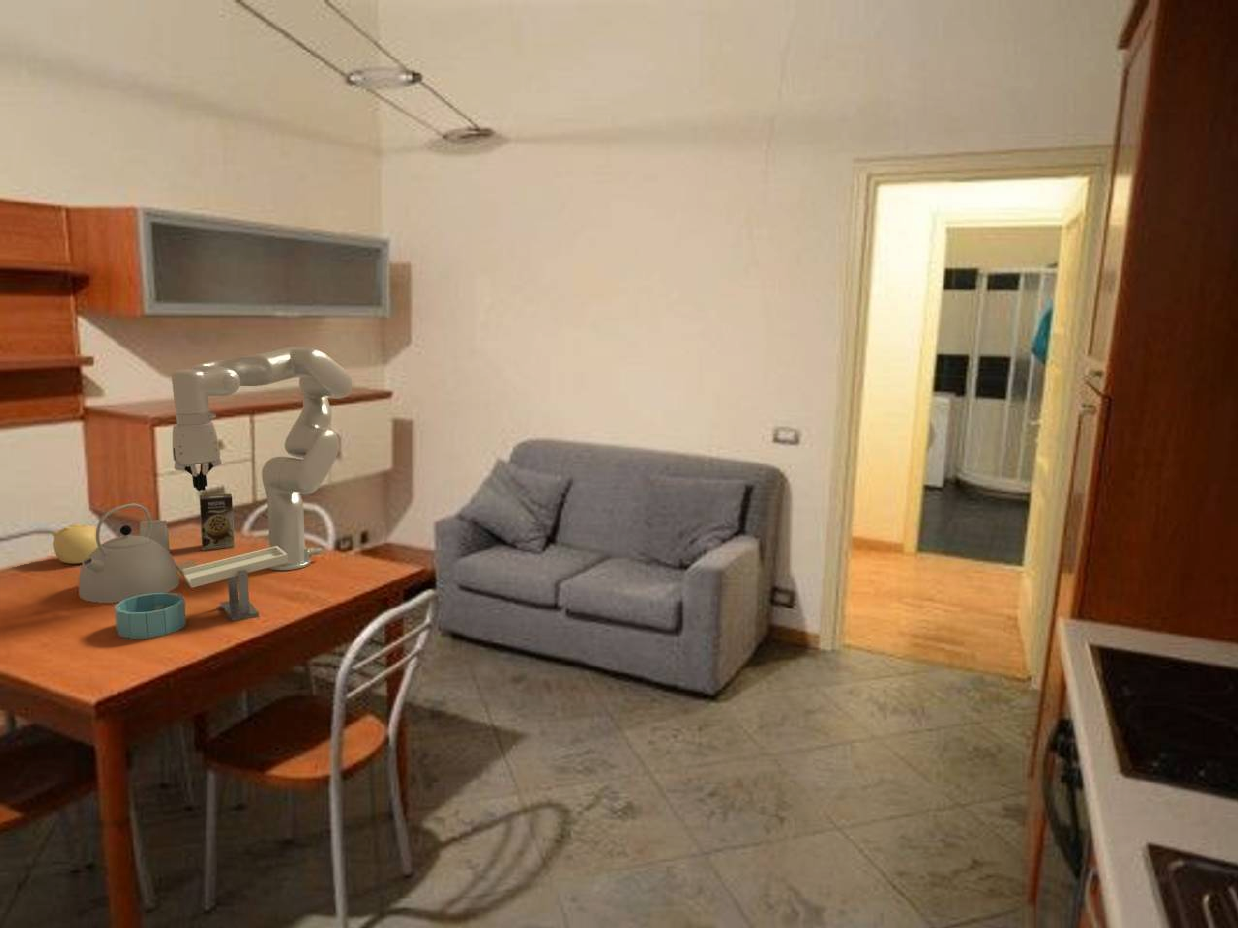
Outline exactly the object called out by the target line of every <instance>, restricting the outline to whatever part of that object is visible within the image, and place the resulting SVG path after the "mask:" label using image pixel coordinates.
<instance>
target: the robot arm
mask: <svg viewBox="0 0 1238 928" xmlns="http://www.w3.org/2000/svg"><path fill="white" fill-rule="evenodd" d="M295 378H299V379H298V385H299V390H300V392H301V396H302V410H301V412H300V414H299V416H298V417H297V418H296V420H295V423H294V424H293V426H292V428H291V430H290V431H289V433H288V435H287V436H286V439H285V440H284V441H285V443H284V449H285V451H286V452H287V454H288V455H290V456H292V457H290V456H289V457H288V456H275V457H272V458H270V459H268V460H267V461H266V462H265V463H264V465H263V467H262V470H261V478H262V484H263V487H264V490H265V495H266V506H267V523H268V524H267V526H268V544H269V545H268V548H270V547H274V546H278V547H279V548H280V549H282V550H283V551H284V552H285V553H287V554H288V562H287V563H284V564H280V565H276V566H272V567H268V568H267V570H273V571H291V570H292V571H293V570H299V569H302V568H305V567H307V566H309V565H311V563H312V558H311V557H312V556H318V555H322V554H323V549H322V547H318V548H315V547H309V548H308V547H306V543H305V522H304V521H305V520H304V502H303V498H302V495H301V494H304V495H308V494H312V493H314V492H316V491H317V490H318V489H319V488H320V487H321V485H322V484H323V482H324V480H325V479H326V477H327V475H328V473H329V471H330V469H331V468H332V466H333V465H334V462H335V460H336V458H337V456H338V453H339V450H340V439H339V437H338V435H337V434H336V433H335V432H334V431H333V430H332V429H329V425H330V424H331V421H332V409H331V406H330V402H329V400H328V399H337V400H338V399H339V400H340V399H344V398H347V396H349V395H350V394H351V392H352V391H353V388H354V387H353V386H354V385H353V384H354V383H353V379H352V376H351V374H349V371H347V370H346V369H345V368H343V366H341V365H340V364H339V363H337V362H336V361H335V360H334V359H332V358H331V357H330V356H328V354H326V353H324V352H323V351H322V350H319V349H317V348H315V347H301V346H289V347H285V348H280V349H275V350H270V351H267V352H263V353H258V354H252V355H246V356H238V357H234V358H226V359H219V360H212V361H208V362H203V363H200V364H196V365H193V366H192V367H191V368H189V369H181V370H176V371H174V372H173V373H172V375H171V381H172V383H171V385H172V392H173V399H174V400H173V401H174V409H175V418H176V424H175V425H173V426H172V455H173V456H172V457H173V461H174V466H173V467H174V469H175V470H176V471H181V472H182V471H184V472H186V473H189V474H190V475H191V478H192V485H193V488H194V489H195V490H197V492H202V491H203V492H204V491H205V492H206V490H207V488H206V487H208V478H207V475H208V474H209V472H210V471H211V470H212V469H213V468H215V467H217V466H220V465H222V461H221V451H220V445H219V441H218V440H219V439H218V436H217V431H216V429H215V425H214V423H213V422H212V419H216V418H217V415H216V412H211V411H210V406H209V397H228V396H232V395H233V394H235V393H236V392H237V391H238V390H239V389H240V387H261V386H267V385H272V384H275V383H279V382H282V381H286V380H291V379H295ZM196 465H200V466H199V467H200V469H199V471H198V469H197V466H196Z"/></svg>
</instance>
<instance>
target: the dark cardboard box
mask: <svg viewBox="0 0 1238 928" xmlns="http://www.w3.org/2000/svg"><path fill="white" fill-rule="evenodd" d="M233 503H234V502H233V494H232V493H218V494H202V495H201V494H200V495H199V507H200V508H199V509H200V527H201V529H200V530H201V531H200V532H201V546H202V547H201V548H202V551H210V550H219V549H220V550H221V548H222V549H231V548H235V546H236V545H235V528H234V527H235V526H234V525H235V524H234V507H233Z"/></svg>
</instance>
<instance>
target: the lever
mask: <svg viewBox="0 0 1238 928" xmlns="http://www.w3.org/2000/svg"><path fill="white" fill-rule="evenodd" d="M287 562H288V554H287V553H285V552H284V551H283V550H282V549H280V548H279V547H278V546H274V547H270V548H269V547H267V548H263V549H259V550H254V551H251V552H247V553H243V554H242V553H241V554H238V555H234V556H231V557H227V558H223V559H219V560H215V561H211V562H210V561H209V562H207V563H203V564H199V565H198V564H197V562H196V561H195V560H194V559H190V560H187V561H186V560H185V561H183V562H179V563H176V564H175V565H176V568H177V571H178V573H179V574H181V576H182V578H183V579H184V580H185V581H186V583H187V584H188V585H189V586H190V588H195V587H199V586H204V585H206V584H210V583H211V584H212V583H215V582H218V581H221V580H222V581H223V580H227V579H228V578H230V577H234V576H237V577H238V572H242V571H247V574H248V573H253V572H258V571H260V570H264V569H268V567H272V566H276V565H280V564H284V563H287Z"/></svg>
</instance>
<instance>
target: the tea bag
mask: <svg viewBox="0 0 1238 928" xmlns="http://www.w3.org/2000/svg"><path fill="white" fill-rule="evenodd" d="M151 522H152V528H151V532H150V535H149V539H151V540H153V541H155V542H157V543H159V544H160V545H162V546H163V547H164V548H165V549H166V550H167V551H168V552H169V553H170V552H171V550H170V536H169V529H168V524H167V520H165V519H164V520H151ZM139 523H140V525H139V526H140V527H139V528H140V531H139V536H143V537H145V536H146V534H147V531H148V520H142V521H139Z"/></svg>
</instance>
